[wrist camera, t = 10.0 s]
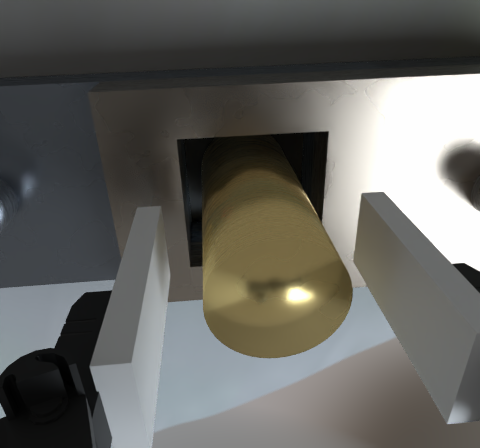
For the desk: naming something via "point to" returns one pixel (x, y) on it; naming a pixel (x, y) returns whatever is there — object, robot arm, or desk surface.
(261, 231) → the brass pin
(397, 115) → the door bolt
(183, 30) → the desk surface
